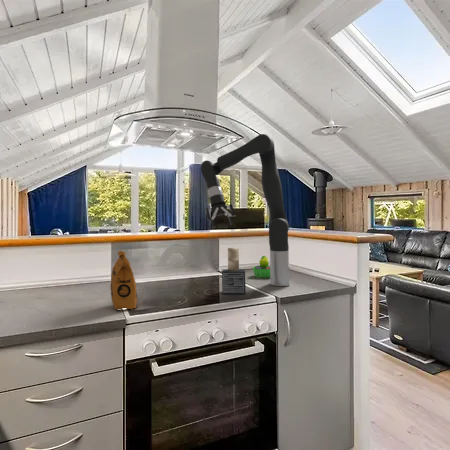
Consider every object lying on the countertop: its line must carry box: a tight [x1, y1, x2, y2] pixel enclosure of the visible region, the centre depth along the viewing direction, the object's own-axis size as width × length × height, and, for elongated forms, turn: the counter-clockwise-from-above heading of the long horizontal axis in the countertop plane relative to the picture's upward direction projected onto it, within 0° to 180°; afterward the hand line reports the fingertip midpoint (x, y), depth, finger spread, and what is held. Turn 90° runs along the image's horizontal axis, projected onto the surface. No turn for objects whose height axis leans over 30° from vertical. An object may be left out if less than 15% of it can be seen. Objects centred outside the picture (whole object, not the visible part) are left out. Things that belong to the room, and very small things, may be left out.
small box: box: [221, 268, 247, 295], centre depth 147 cm, size 11×6×10 cm, turn 85°
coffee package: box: [110, 250, 138, 310], centre depth 128 cm, size 10×12×22 cm
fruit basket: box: [252, 255, 270, 279], centre depth 180 cm, size 11×9×11 cm
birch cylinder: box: [227, 247, 240, 271], centre depth 146 cm, size 5×5×10 cm
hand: (223, 226), depth 162 cm, fingers open, 8 cm apart
